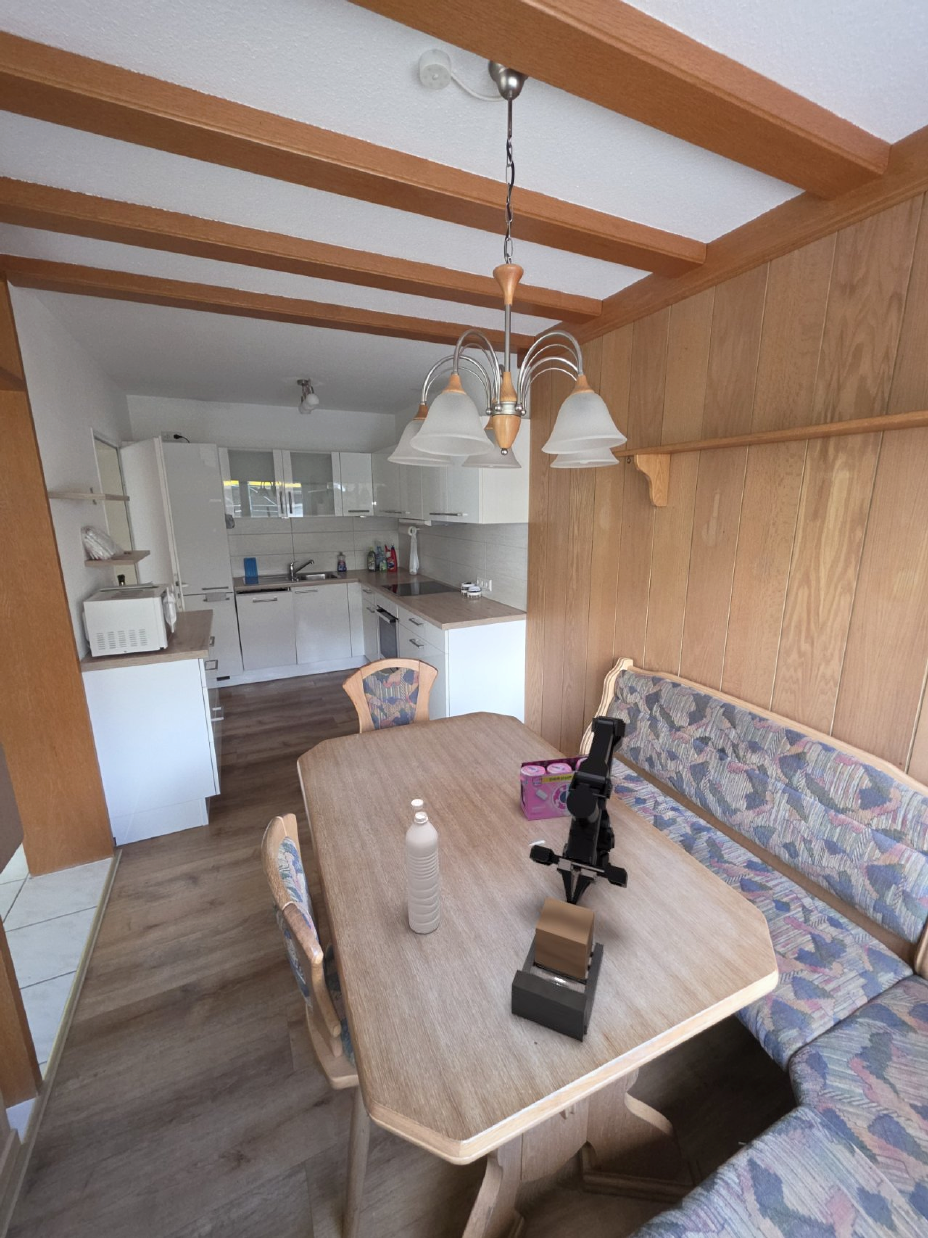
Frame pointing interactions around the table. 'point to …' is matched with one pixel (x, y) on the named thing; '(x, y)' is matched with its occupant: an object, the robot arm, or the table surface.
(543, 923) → the brown cardboard box
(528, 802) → the gum box
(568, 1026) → the roller bed
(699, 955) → the table surface
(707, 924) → the table surface
